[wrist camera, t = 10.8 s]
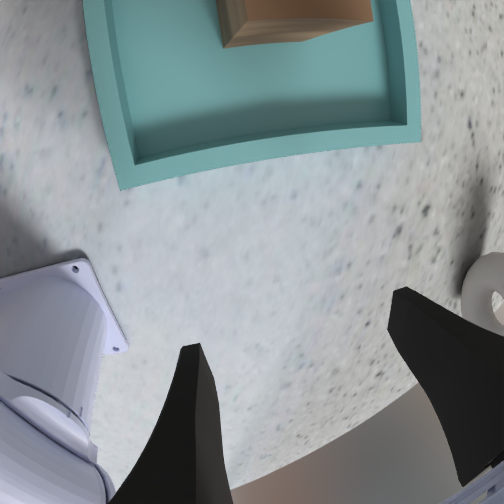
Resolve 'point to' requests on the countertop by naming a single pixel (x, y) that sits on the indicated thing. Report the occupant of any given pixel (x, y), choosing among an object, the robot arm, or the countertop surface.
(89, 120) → the countertop surface
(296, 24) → the block
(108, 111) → the tray
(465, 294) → the donut
